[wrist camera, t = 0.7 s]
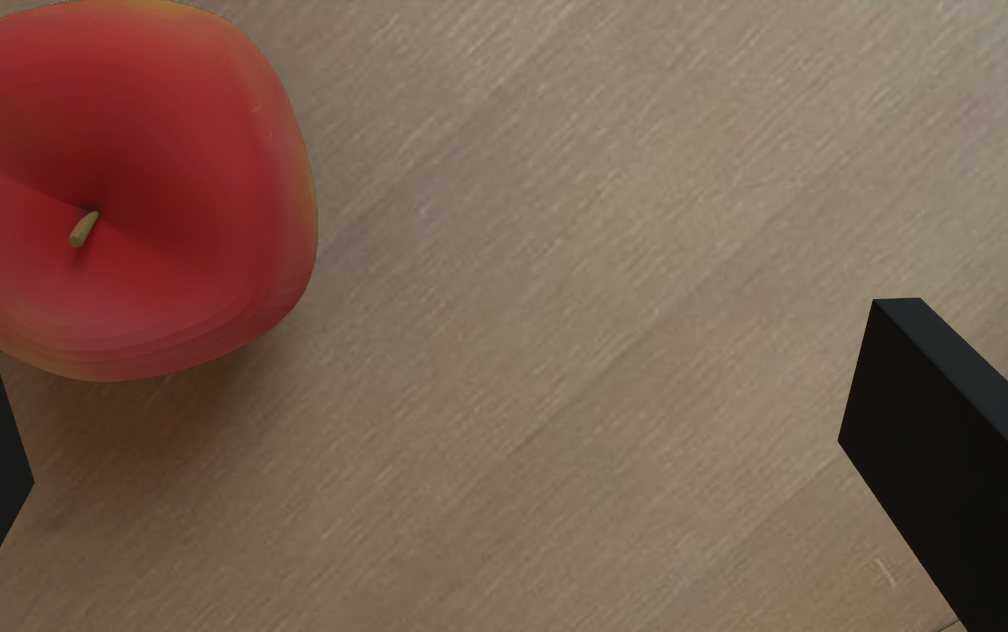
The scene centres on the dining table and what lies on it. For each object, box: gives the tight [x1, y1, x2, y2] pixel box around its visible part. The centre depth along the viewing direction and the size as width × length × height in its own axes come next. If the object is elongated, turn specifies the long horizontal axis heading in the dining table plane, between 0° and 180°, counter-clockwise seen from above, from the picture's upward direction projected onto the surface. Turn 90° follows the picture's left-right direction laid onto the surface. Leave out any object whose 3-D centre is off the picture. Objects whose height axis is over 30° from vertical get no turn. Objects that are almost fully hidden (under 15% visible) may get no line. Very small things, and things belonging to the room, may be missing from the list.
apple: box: [0, 0, 318, 382], centre depth 23 cm, size 10×10×10 cm
